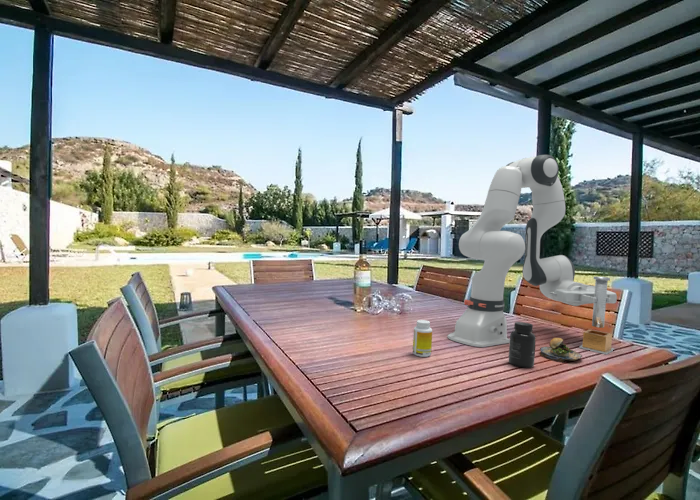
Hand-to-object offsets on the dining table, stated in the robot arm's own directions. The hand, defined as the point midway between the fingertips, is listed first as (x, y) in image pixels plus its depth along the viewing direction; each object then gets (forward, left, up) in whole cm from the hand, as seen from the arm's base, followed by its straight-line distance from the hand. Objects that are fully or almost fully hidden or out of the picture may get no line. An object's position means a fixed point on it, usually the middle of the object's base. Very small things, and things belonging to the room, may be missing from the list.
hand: (602, 300), depth 125 cm
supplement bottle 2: (-37, +9, -17) cm, 42 cm away
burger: (-19, +5, -17) cm, 27 cm away
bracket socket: (+1, +1, -17) cm, 17 cm away
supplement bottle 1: (-55, +31, -17) cm, 66 cm away
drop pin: (+1, +1, -9) cm, 9 cm away
